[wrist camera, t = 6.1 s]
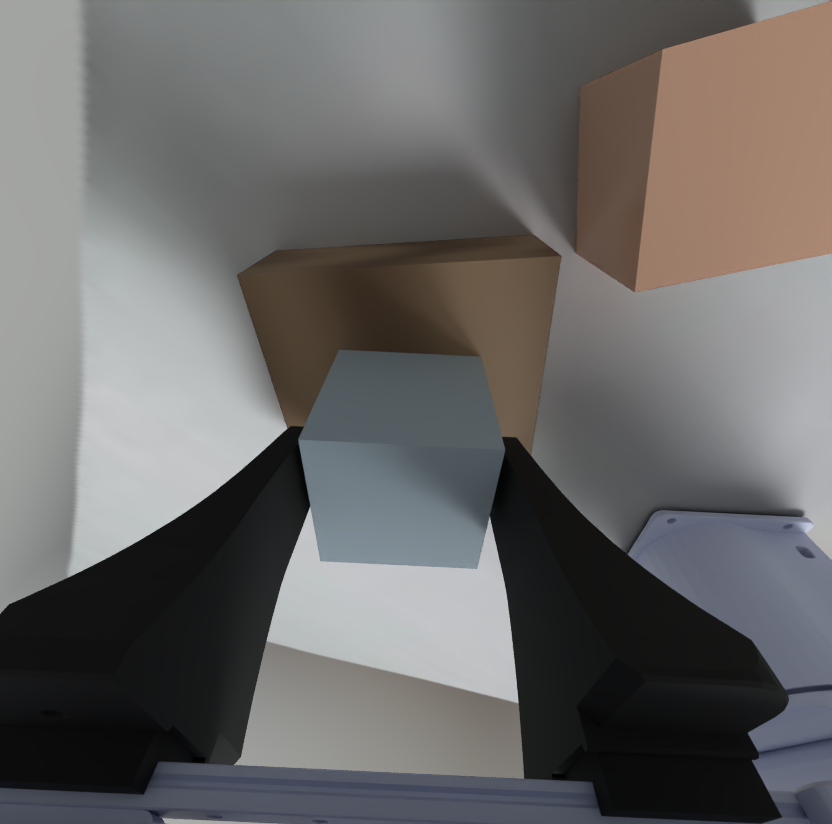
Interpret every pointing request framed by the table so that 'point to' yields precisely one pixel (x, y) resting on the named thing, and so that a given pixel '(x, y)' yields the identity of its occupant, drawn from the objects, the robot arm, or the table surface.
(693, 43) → the terracotta cube
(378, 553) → the blue-grey cube
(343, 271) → the walnut slab
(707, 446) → the table surface
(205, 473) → the table surface
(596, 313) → the table surface
